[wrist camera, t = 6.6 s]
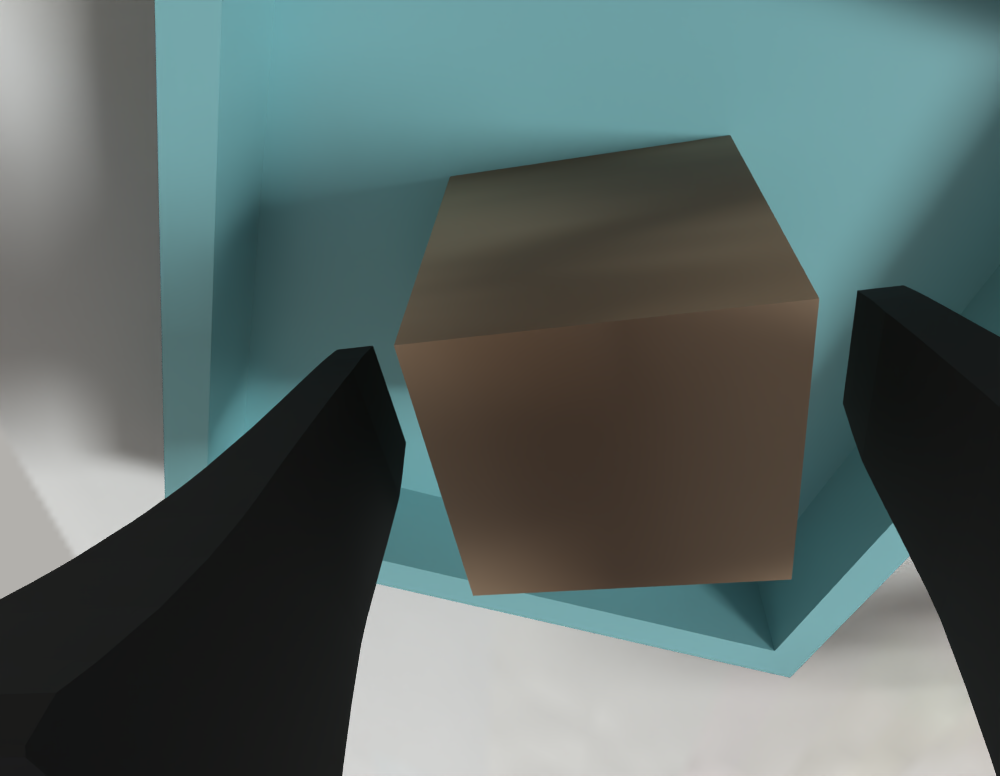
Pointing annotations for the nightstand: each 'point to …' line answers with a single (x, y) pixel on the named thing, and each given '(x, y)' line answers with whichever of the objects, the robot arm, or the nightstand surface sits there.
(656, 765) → the nightstand surface
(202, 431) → the teal tray
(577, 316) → the walnut block
